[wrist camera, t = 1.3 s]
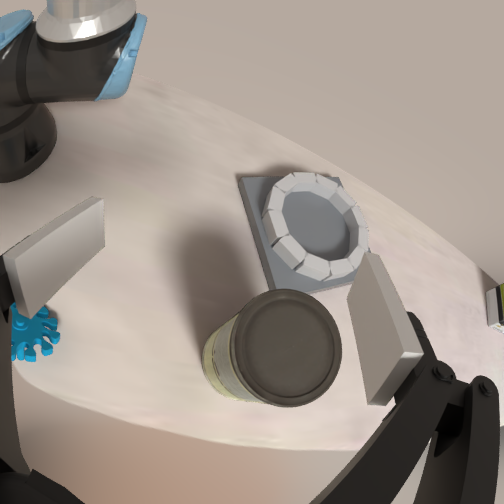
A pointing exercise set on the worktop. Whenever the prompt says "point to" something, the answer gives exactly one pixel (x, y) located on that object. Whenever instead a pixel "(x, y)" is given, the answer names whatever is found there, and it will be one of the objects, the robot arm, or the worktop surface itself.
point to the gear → (32, 334)
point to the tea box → (496, 308)
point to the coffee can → (275, 351)
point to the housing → (305, 230)
